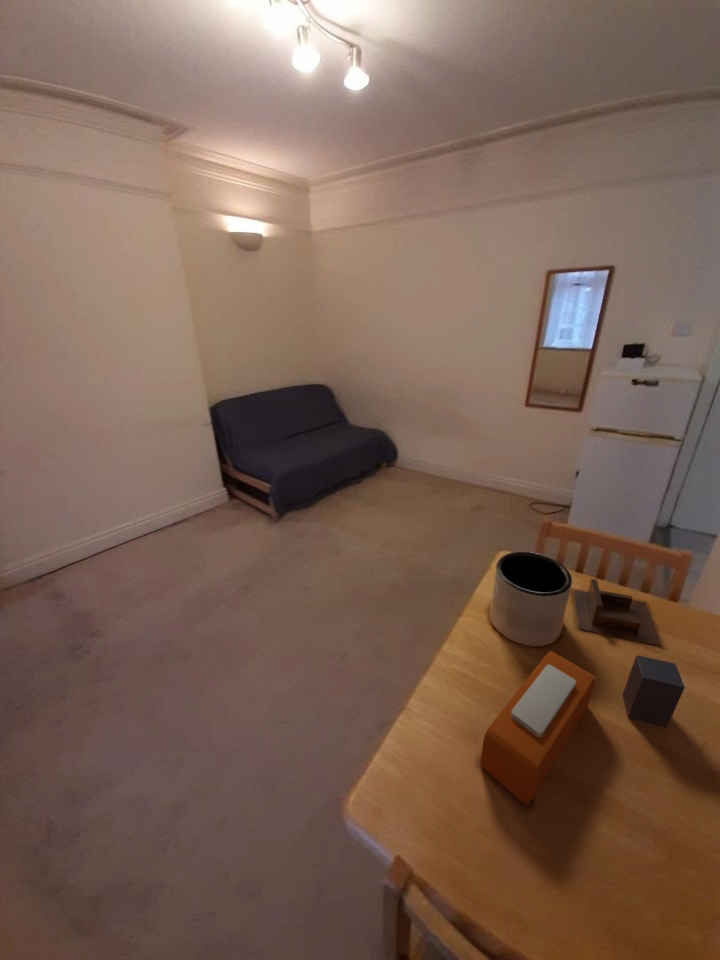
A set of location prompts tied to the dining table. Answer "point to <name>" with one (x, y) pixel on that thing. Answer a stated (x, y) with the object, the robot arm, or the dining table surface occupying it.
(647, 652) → the dining table surface
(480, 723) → the dining table surface
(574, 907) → the dining table surface
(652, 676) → the dark grey block
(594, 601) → the brown holder on base
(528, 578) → the planter
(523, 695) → the alarm clock
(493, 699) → the dining table surface
